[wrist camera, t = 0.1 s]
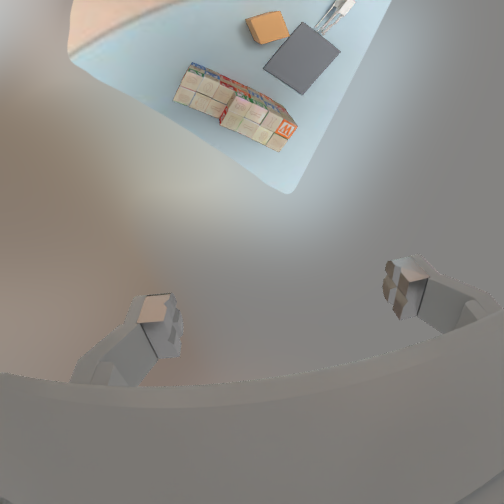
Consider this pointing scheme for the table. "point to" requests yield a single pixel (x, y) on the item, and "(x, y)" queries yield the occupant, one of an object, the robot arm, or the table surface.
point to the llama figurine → (343, 6)
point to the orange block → (267, 27)
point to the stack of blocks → (236, 106)
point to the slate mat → (302, 58)
